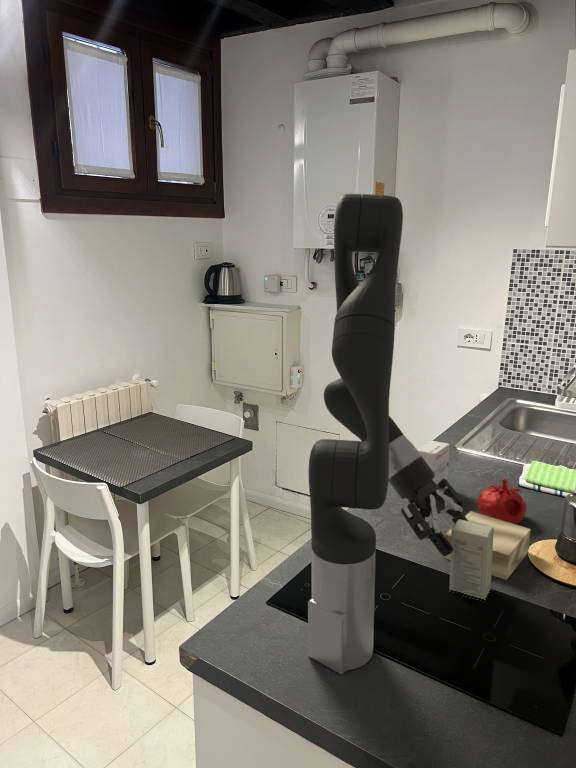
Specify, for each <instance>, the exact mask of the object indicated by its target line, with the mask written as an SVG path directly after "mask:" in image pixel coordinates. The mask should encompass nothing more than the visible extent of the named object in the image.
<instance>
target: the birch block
mask: <svg viewBox="0 0 576 768" xmlns="http://www.w3.org/2000/svg"><path fill="white" fill-rule="evenodd" d="M464 516H465V517H466V518H467V520H468V521H470V522H474V523H479V524H483V525H488V526H492V527H494V532H493V552H492V571H491V576H494V577H496V578H499V579H501V580H504V581H507V580H508V578H509V577H511V575H512V573H514V571H515V570H516V569H517V567H518V566H519V565H520V564H521V562H522V561H523V560H524V558H525V557H526V556H527V554H528V553H529V547H530V541H531V540H530V537H531V528H529V527H525V526H522V525H519V524H516V525H515V524H512V523H509V522H505V521H502V520H499V519H495V518H492V517H489V516H485V515H482V514H481V513H480V512H479V513H478V512H475V511H471V510H469V512H468V513H466V515H464ZM444 536H445V538H446V539H447V540H448V542H449V543H450V545H451V529H449V530H448V531H447V532H446V533H445V534H444ZM443 558H444V559H446V560H449V561H450V560H451V554H449V555H447V556H443Z"/></svg>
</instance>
